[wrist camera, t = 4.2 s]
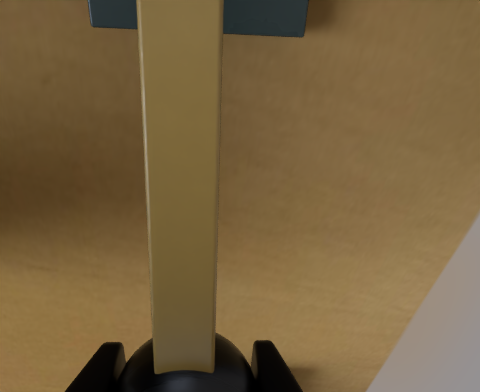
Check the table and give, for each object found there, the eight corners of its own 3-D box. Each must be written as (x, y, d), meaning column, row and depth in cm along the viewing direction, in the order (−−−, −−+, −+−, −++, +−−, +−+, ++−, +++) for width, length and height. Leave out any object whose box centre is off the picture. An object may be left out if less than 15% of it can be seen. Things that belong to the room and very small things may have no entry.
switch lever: (248, 394, 10) (262, 529, 7) (131, 397, 10) (99, 538, 7) (295, -296, 5) (386, -670, 3) (74, -321, 5) (-92, -762, 2)
